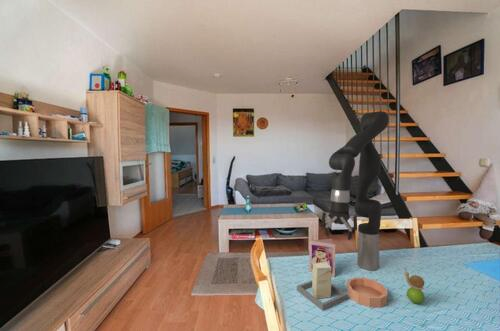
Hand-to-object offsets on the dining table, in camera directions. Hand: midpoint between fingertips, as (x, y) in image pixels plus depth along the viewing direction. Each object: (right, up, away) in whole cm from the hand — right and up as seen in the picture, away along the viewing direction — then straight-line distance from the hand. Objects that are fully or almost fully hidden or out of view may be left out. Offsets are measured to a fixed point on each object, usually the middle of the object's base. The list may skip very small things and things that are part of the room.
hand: (338, 237), depth 102 cm
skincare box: (-10, -20, -8) cm, 24 cm away
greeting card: (-4, -19, +10) cm, 22 cm away
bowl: (+8, -20, -9) cm, 23 cm away
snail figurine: (+23, -20, -13) cm, 34 cm away
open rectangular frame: (-10, -20, -8) cm, 24 cm away
